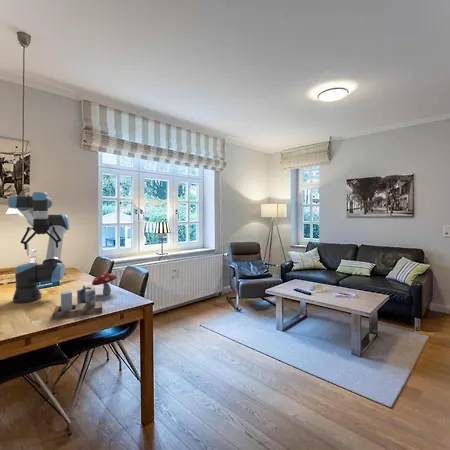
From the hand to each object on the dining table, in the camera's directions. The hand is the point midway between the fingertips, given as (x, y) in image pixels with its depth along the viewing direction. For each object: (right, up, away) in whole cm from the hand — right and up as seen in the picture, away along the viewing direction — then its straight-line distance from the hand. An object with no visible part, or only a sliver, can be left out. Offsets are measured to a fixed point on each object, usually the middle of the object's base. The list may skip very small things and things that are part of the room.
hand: (41, 254), depth 167 cm
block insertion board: (+26, -32, -7) cm, 42 cm away
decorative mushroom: (+26, -31, +27) cm, 48 cm away
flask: (+21, -32, +9) cm, 39 cm away
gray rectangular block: (+20, -32, -10) cm, 39 cm away
